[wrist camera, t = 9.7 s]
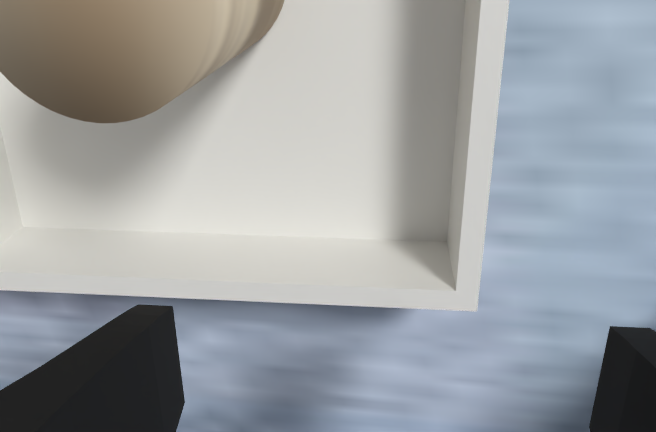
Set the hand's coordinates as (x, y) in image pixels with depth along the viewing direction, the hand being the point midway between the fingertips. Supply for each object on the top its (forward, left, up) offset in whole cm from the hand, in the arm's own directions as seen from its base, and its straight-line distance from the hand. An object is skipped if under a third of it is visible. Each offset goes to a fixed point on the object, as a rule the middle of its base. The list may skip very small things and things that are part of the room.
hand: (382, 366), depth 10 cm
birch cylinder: (+5, -6, -9) cm, 12 cm away
